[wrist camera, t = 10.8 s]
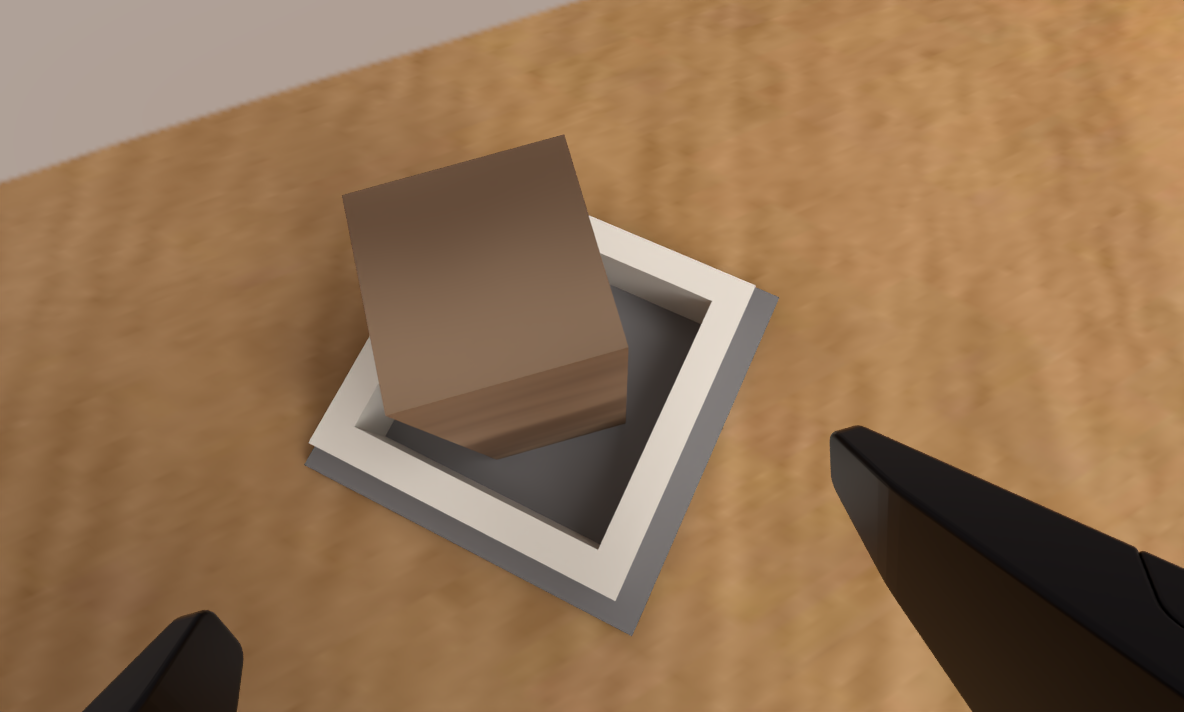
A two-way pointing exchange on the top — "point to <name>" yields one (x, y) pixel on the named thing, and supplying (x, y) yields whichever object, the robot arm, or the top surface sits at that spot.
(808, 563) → the top surface
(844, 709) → the top surface
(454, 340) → the walnut post
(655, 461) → the socket collar
